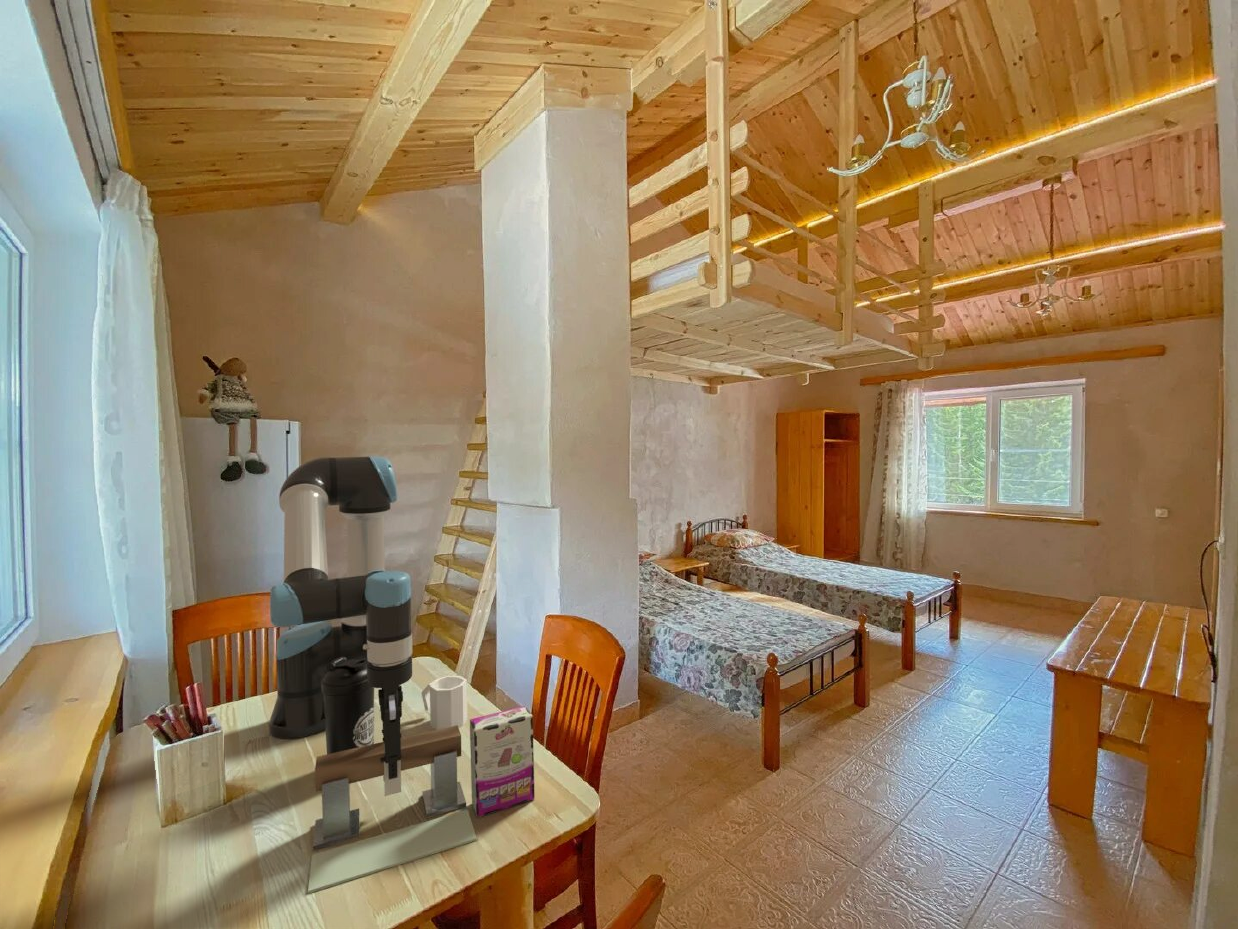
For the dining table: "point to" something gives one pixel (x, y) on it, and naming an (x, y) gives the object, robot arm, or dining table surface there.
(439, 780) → the post
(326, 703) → the water bottle
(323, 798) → the post
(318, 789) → the rail
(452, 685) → the mug
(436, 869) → the dining table surface
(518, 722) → the candy bar box
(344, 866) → the mat
